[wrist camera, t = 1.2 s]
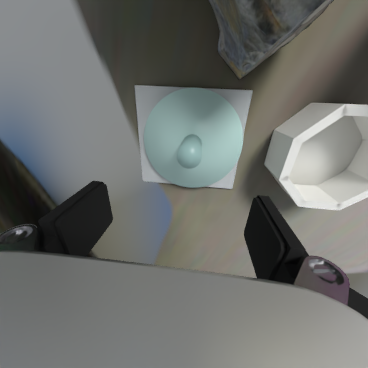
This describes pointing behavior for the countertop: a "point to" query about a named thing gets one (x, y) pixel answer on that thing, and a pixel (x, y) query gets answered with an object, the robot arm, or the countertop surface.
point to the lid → (193, 137)
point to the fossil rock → (260, 28)
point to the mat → (153, 94)
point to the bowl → (322, 155)
